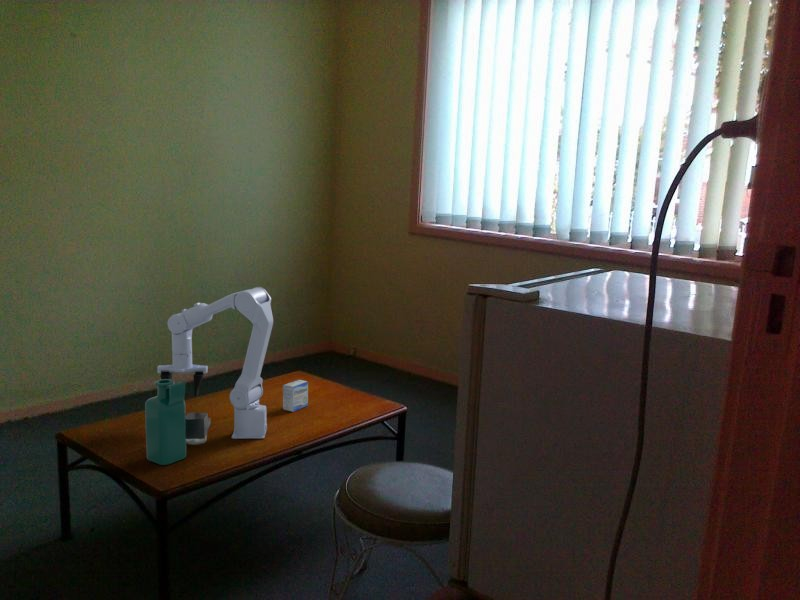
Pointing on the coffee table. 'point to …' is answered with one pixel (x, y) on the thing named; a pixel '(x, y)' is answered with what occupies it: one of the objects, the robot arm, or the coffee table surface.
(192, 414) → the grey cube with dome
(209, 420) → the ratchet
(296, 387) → the medicine box
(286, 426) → the coffee table surface
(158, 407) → the teal green bottle
